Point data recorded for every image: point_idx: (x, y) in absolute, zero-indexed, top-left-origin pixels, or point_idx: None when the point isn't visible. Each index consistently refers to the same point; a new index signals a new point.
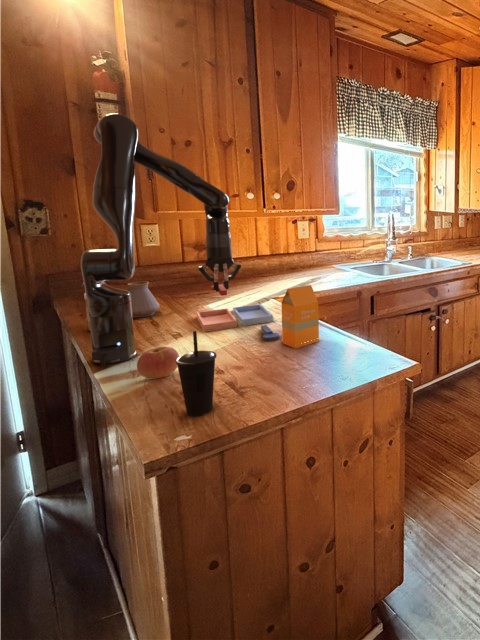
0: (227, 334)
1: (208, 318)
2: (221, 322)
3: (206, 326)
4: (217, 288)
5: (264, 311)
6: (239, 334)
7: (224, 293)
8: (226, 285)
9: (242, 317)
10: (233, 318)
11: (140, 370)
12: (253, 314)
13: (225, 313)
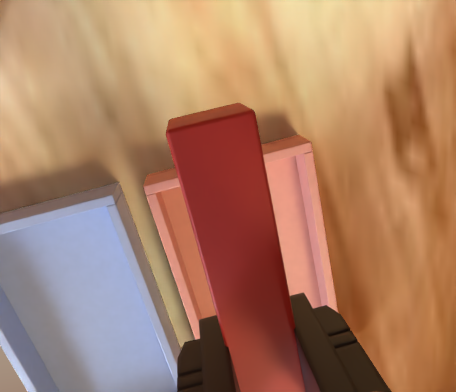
0: (178, 39)
1: None
2: None
3: (294, 142)
4: (305, 318)
5: (32, 362)
6: (109, 10)
7: (199, 113)
8: (203, 383)
9: (120, 240)
10: (168, 233)
11: None
12: (94, 351)
13: None
